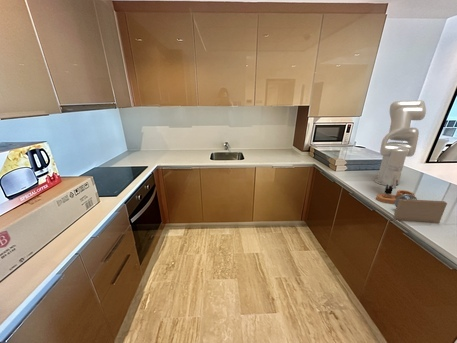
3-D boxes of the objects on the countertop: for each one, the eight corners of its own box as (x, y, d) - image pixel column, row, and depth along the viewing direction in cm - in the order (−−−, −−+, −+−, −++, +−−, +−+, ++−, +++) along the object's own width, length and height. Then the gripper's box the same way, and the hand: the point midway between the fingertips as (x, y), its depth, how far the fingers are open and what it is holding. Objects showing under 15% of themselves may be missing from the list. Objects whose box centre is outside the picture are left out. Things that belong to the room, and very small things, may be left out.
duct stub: (383, 208, 116) (388, 190, 112) (422, 210, 112) (429, 192, 108) (395, 220, 105) (401, 200, 101) (439, 223, 101) (447, 203, 97)
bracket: (408, 200, 123) (411, 191, 121) (414, 207, 116) (417, 196, 114) (374, 196, 130) (376, 187, 128) (378, 202, 123) (380, 192, 121)
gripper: (381, 163, 130) (375, 188, 136) (394, 171, 116) (387, 198, 122) (394, 164, 128) (387, 189, 134) (409, 171, 114) (401, 199, 121)
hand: (387, 193), depth 128 cm, fingers closed
